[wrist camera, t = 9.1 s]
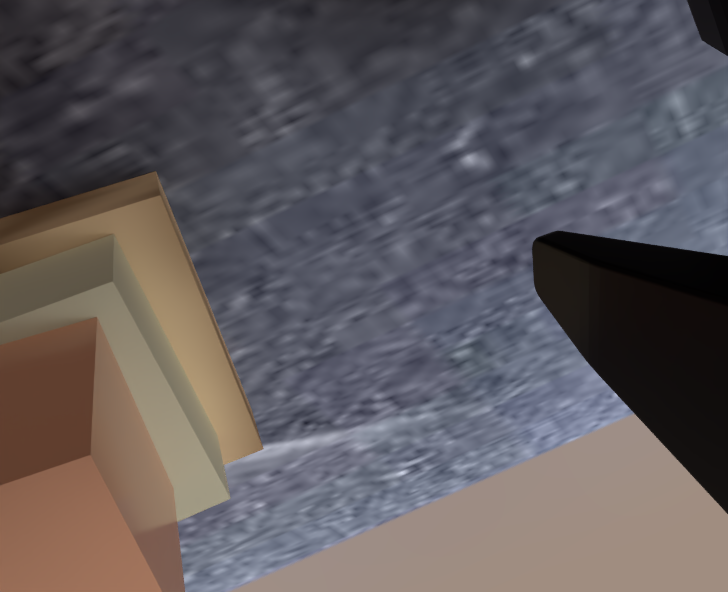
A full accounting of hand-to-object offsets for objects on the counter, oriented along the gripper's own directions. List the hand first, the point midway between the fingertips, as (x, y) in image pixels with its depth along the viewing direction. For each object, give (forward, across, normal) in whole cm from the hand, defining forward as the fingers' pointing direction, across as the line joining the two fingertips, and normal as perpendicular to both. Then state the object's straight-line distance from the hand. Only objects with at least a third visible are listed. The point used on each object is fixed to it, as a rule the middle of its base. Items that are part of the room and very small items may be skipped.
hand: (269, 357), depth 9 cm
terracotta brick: (+6, +6, +5) cm, 10 cm away
